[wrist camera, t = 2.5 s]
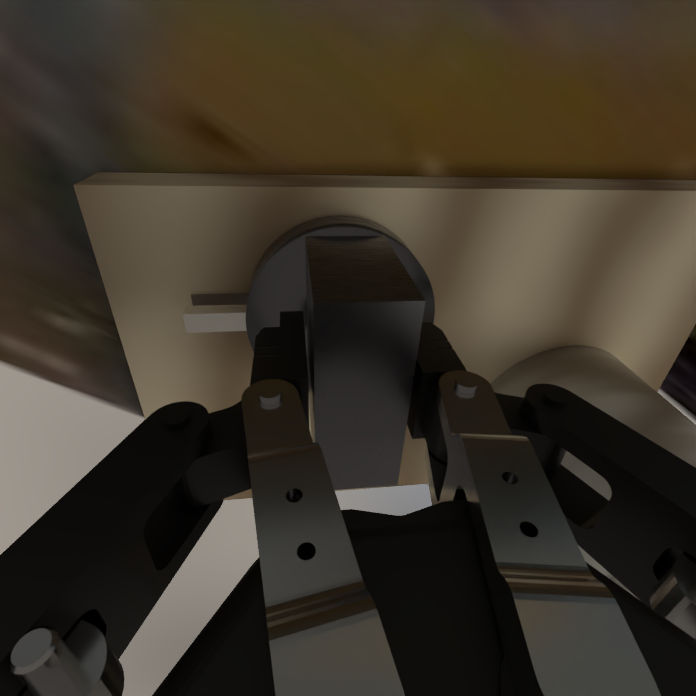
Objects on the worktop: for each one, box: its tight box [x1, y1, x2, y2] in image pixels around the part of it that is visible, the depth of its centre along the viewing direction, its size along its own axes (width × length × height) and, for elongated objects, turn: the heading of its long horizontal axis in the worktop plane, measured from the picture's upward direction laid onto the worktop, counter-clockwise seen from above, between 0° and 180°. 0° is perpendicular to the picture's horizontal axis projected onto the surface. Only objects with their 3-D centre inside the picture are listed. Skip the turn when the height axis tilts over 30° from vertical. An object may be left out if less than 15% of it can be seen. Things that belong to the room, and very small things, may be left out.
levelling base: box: [73, 172, 696, 601], centre depth 15 cm, size 24×15×11 cm, turn 88°
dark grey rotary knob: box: [183, 215, 435, 490], centre depth 13 cm, size 8×6×6 cm
